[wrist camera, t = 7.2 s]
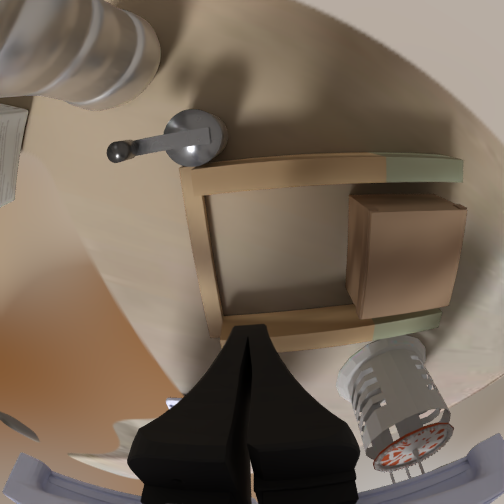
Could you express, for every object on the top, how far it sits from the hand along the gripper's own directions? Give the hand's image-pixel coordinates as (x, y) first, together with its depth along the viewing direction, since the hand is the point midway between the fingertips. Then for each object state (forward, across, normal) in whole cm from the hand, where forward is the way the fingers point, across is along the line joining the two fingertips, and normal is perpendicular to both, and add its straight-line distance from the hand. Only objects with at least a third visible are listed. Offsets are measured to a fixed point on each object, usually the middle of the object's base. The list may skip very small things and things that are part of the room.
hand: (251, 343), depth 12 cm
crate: (+10, -10, 0) cm, 14 cm away
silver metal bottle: (+10, +7, -14) cm, 19 cm away
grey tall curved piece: (+10, -12, +15) cm, 21 cm away
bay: (+9, -6, 0) cm, 11 cm away
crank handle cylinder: (+9, +3, -8) cm, 13 cm away
